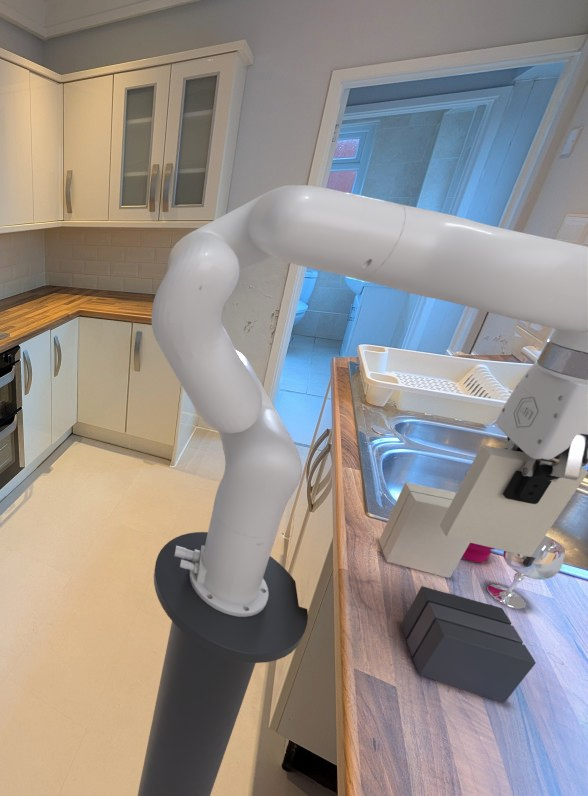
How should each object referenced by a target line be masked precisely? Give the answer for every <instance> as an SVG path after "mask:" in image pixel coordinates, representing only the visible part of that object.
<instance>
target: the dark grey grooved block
mask: <svg viewBox="0 0 588 796" xmlns="http://www.w3.org/2000/svg"><path fill="white" fill-rule="evenodd" d="M400 627H401V630H402V632H403V635H404V638H405V640H406V642H407V646H408V649H409V651H410V655H411V656H412V657H413V658H412V659H413V662H414V665H415V669H416V670H417V673H418V675H419V676H421V677H424V678H427V679H430V680H433V681H436V682H439V683H441V684H445V685H448V686H452V687H454V688H457V689H460V690H463V691H466V692H468V693H472V694H475V695H478V696H481V697H484V698H486V699H491V700H493V701H496V702H498V703H502V704H505V703H506V702H507V701H508V699H509V698H510V697H511V695H512V694H513V693H514V691H516V689H517V688H518V686H519V685H520V684H521V683H522V682H523V680H524V679H525V678H526V676H527V675H528V674H529V673H530V672H531V670H532V669H533V668H534V666H535V665H536V664H537V662H536V661H535V659H534V657H533V655H532V654H531V652H530V651H529V649H528V648H527V646H526V645H525V644H524V641H523V640H522V638H521V636H520V635H519V632H518V631H517V630H516V628H515V626H514V625H512V622H511V620H510V618H509V617H508V615H507V613H506V612H505V611H504V608H503V607H499V606H495V605H492V604H488V603H485V602H482V601H477V600H475V599H474V600H473V599H471V598H467V597H462V596H459V595H456V594H452V593H449V592H445V591H441V590H439V589H438V590H437V589H433V588H430V587H426V586H423V585H421V586H420V588H419V590H418V592H417V594H416V595H415V597H414V599H413V601H412V603H411V605H410V606H409V608H408V609H407V612H406V613H405V616H404V617H403V619H402V621H401V623H400Z"/></svg>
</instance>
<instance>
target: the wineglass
mask: <svg viewBox="0 0 588 796" xmlns="http://www.w3.org/2000/svg"><path fill="white" fill-rule="evenodd" d="M502 555H503V559H504V561H505V563H506V564H507V566H508V567H509V568H511V569H512V570H513V571H514V572H515V574H514V575H513V581H512V583H511V584H510V585H509V587H505V586H502V585H500V584H489V585H487V587H486V590H487V592H488V594H489V595H490V596H491V597H492V598H494V599H495V600H496V601H498V602H500V603H501V604H503V605H505V606H507V607H510V608H513V609H520V610H521V609H524V608H526V601H525V600H524V599H523V598H522V597H521V596H520V594H518V593H516V592H515V591H514V589H515V587H516V586H517V585H519V583H521V582H522V581H523V580H525V577H526V578H529V579H532V580H537V581H538V580H539V581H540V580H543V581H544V580H549V579H552V578H553V577H555V576H556V575H557V574H558V573H559V572H560V570H561V568H562V566H563V564H564V561H565V557H566V556H565V555H566V549H565V547H564V546H563V545H562V544H561V543H560V542H558V541H557V540H556V539H553V538H552V537H550V536H548V535H545V537H544V538H543V540H542V541H541V543H540V544H539V546H538V547H537V549H536V550H535V552H534V553H533V555H532V556H531V557H528V556H524V555H520V554H516V553H512V552H508V551H503V554H502Z"/></svg>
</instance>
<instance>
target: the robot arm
mask: <svg viewBox="0 0 588 796" xmlns="http://www.w3.org/2000/svg"><path fill="white" fill-rule="evenodd" d="M271 258H274V259H275V260H279V261H282V262H285V263H289V264H291V265H292V264H293V265H297V266H299V267H304V268H308V269H313V270H317V271H320V272H321V271H322V272H326V273H331V274H335V275H339V276H342V277H347V278H352V279H355V280H357V281H362V282H366V283H371V284H374V285H378V286H382V287H385V288H390V289H393V290H398V291H400V292H403V293H407V294H411V295H415V296H419V297H424V298H430V299H435V300H439V301H444V302H448V303H453V304H456V305H460V306H464V307H468V308H472V309H475V310H480V311H482V312H487V313H490V314H494V315H497V316H503V317H505V318H510V319H513V320H518V321H522V322H527V323H530V324H534V325H538V326H542V327H547V328H551V329H552V331H551V334H550V335H549V336H548V339H547V340H546V343H545V345H544V347H543V348H542V350H541V352H540V354H539V356H538V358H537V360H536V361H535V362H534V363H533V364H532V365H531V366H530V367H529V369H527V371H526V372H525V373H524V375H523V376H522V377H521V378H520V380H519V382H517V385H516V386H515V388H514V389H513V391H512V392H511V394H510V395H509V397H508V399H507V400H506V402H505V403H504V405H503V407H502V409H501V410H500V412H499V414H498V416H497V418H496V425H497V427H498V428H499V430H500V431H501V432H502V433H504V435H505V436H506V438H507V443H506V444H505V446H504V448H503V449H508V450H513V451H519V452H525V453H526V454H527V455H528V456H529V457H528V459H527V461H526V463H525V465H524V467H523V468H522V472H521V471H516V472H515V474H514V475H513V477H512V479H511V481H510V482H509V484H508V486H507V487H506V489H505V491H504V493H503V495H504V497H505V498H506V499H511V500H516V501H520V502H525V503H530V504H537V503H538V502H539V501H540V499H541V498H542V496H543V495H544V493H545V491H546V490H547V488H548V487H549V485H550V483H551V482H552V481H554V482H555V481H557V480H558V479H559V478H565V479H571V480H577V479H578V478H579V475H580V470H581V467H582V468H584V467H587V466H588V246H587V245H583V244H582V245H581V244H579V243H573V242H569V241H563V240H559V239H554V238H549V237H545V236H541V235H534V234H530V233H526V232H520V231H516V230H513V229H512V230H511V229H508V228H507V229H506V228H503V227H498V226H494V225H489V224H485V223H482V222H479V221H475V220H472V219H468V218H464V217H461V216H457V215H453V214H449V213H444V212H440V211H435V210H431V209H426V208H421V207H416V206H411V205H407V204H401V203H396V202H394V201H393V202H392V201H388V200H383V199H378V198H374V197H369V196H364V195H360V194H355V193H351V192H347V191H341V190H336V189H331V188H327V187H323V186H317V185H311V184H310V185H309V184H307V185H306V184H292V185H291V184H287V185H283V186H282V185H281V186H278V187H276V188H273V189H271V190H269V191H266V192H265V193H262V194H260V195H259V196H257V197H256V198H253V199H252V200H250V201H248V202H246V203H244V204H243V205H241V206H239V207H237V208H234V209H233V210H231V211H229V212H227V213H226V214H223V215H222V216H220V217H218V218H215V219H214V220H212V221H210V222H208V223H206V224H204V225H202V226H200V227H199V228H197V229H195V230H193V231H190V232H189V233H188V234H186V235H184V236H183V237H181V239H179V240H178V241H177V242H176V243H175V244H174V245H173V247H172V248H171V251H170V252H169V253H168V259H167V264H166V270H167V271H166V273H165V275H164V277H163V278H162V281H161V283H160V285H159V286H158V289H157V291H156V293H155V294H154V295H155V296H154V298H153V303H152V307H151V319H150V320H151V328H152V332H153V335H154V338H155V340H156V342H157V344H158V346H159V348H160V350H161V352H162V353H163V356H164V357H165V358H166V360H167V362H168V364H169V365H170V367H171V369H172V371H173V373H174V375H175V377H176V378H177V380H178V381H179V384H180V385H181V387H182V388H183V390H184V392H185V393H186V395H187V397H188V399H189V400H190V402H191V404H192V406H193V408H194V410H195V411H196V413H197V415H198V416H199V418H201V420H202V421H203V422H204V423H205V424H206V425H208V426H209V427H210V428H212V429H214V430H216V431H218V433H219V436H220V440H221V445H222V450H223V454H224V461H225V462H224V472H223V476H222V478H221V480H220V482H219V484H218V487H217V489H216V494H215V497H214V501H213V506H212V512H211V515H210V521H209V525H208V529H207V530H208V531H207V532H208V534H207V539H206V543H205V546H203V545H202V546H201V551H199V550H196V549H195V551H191V550H188V549H186V548H183V547H180V546H177V545H176V550H175V557H179V558H182V559H187V560H191V561H193V562H192V563H191V562H189V561H185V560H182V559H181V564H180V567H181V568H184V569H189V570H190V573H189V576H190V581H191V584H192V586H193V588H194V590H195V591H196V593H197V594H198V595H199V596H200V597H201V599H202V600H204V601H205V602H206V603H207V604H208V605H210V606H211V607H213V608H214V609H216V610H218V611H221V612H223V613H226V614H229V615H232V616H238V617H247V616H253V615H255V614H258V613H259V612H261V611H262V610H263V609H264V607H265V606H266V603H267V601H268V595H269V593H268V587H267V585H266V582H265V580H264V579H263V576H264V573H265V570H266V567H267V563H268V560H269V557H270V556H271V553H272V550H273V548H274V544H275V541H276V538H277V534H278V531H279V527H280V524H281V521H282V519H283V515H284V512H285V510H286V508H287V505H288V502H290V499H291V498H292V496H293V494H294V493H295V491H296V489H297V488H298V486H299V484H300V482H301V478H302V475H303V473H302V472H303V466H302V460H301V455H300V452H299V450H298V448H297V446H296V444H295V442H294V440H293V438H292V436H291V434H290V432H289V431H288V429H287V428H286V427H287V426H286V425H285V423H284V422H283V420H282V418H281V416H280V414H279V413H278V411H277V409H276V408H275V405H274V404H273V402H272V399H271V398H270V397H269V394H268V393H267V392H266V390H265V388H264V386H263V385H262V382H261V381H260V379H259V378H258V375H257V373H256V372H255V370H254V368H253V366H252V364H251V363H250V361H249V360H248V358H247V357H246V356H245V355H243V353H242V352H240V351H239V350H237V349H236V348H235V346H234V344H233V341H232V340H231V337H230V335H229V334H228V332H227V330H226V328H225V326H224V325H223V322H222V313H223V308H224V306H225V305H226V303H227V301H228V299H229V298H230V297H231V295H232V293H233V292H234V290H235V288H236V287H237V284H238V282H239V278H240V273H243V272H244V271H246V270H248V269H251V268H253V267H255V266H257V265H259V264H261V263H263V262H265V261H267V260H269V259H271ZM541 461H547V462H552V464H551V465H547V464H543V465H539V464H540V462H541ZM538 465H539V466H538Z"/></svg>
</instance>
